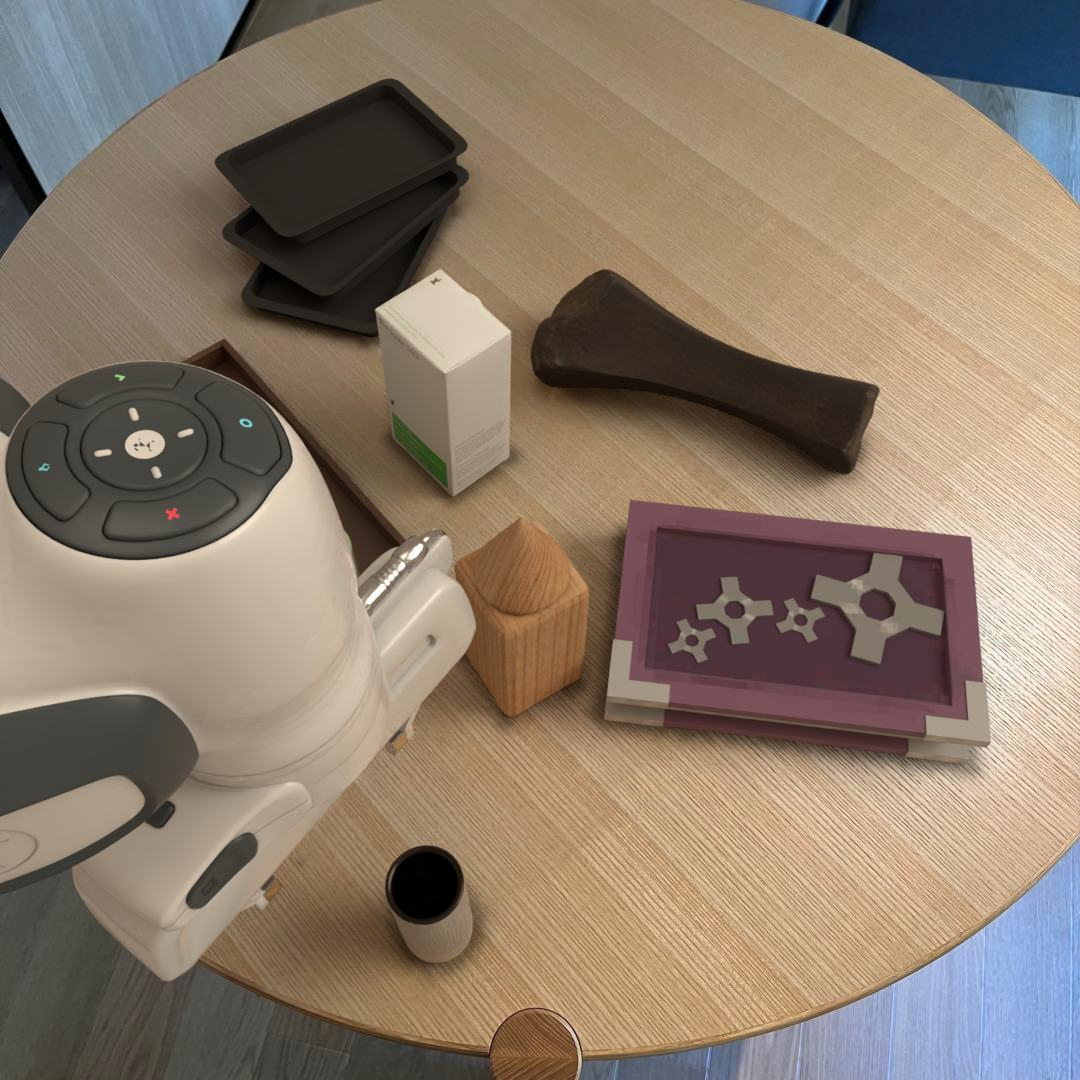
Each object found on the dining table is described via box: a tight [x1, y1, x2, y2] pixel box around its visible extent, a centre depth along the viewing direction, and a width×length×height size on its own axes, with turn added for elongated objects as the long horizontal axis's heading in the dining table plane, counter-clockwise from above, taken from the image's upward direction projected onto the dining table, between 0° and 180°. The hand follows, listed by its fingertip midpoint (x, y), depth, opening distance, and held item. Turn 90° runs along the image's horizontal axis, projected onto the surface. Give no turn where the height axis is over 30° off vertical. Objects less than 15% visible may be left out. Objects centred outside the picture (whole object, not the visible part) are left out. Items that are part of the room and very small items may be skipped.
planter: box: [384, 844, 474, 964], centre depth 68 cm, size 4×4×10 cm
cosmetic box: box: [375, 268, 512, 497], centre depth 86 cm, size 8×7×16 cm
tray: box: [214, 78, 470, 338], centre depth 105 cm, size 30×23×5 cm
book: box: [603, 499, 992, 765], centre depth 81 cm, size 25×16×5 cm, turn 82°
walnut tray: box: [179, 337, 406, 575], centre depth 88 cm, size 14×30×3 cm, turn 39°
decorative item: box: [454, 516, 590, 718], centre depth 74 cm, size 7×7×20 cm
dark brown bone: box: [530, 268, 881, 475], centre depth 93 cm, size 11×10×28 cm
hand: (329, 810), depth 55 cm, fingers open, 8 cm apart
